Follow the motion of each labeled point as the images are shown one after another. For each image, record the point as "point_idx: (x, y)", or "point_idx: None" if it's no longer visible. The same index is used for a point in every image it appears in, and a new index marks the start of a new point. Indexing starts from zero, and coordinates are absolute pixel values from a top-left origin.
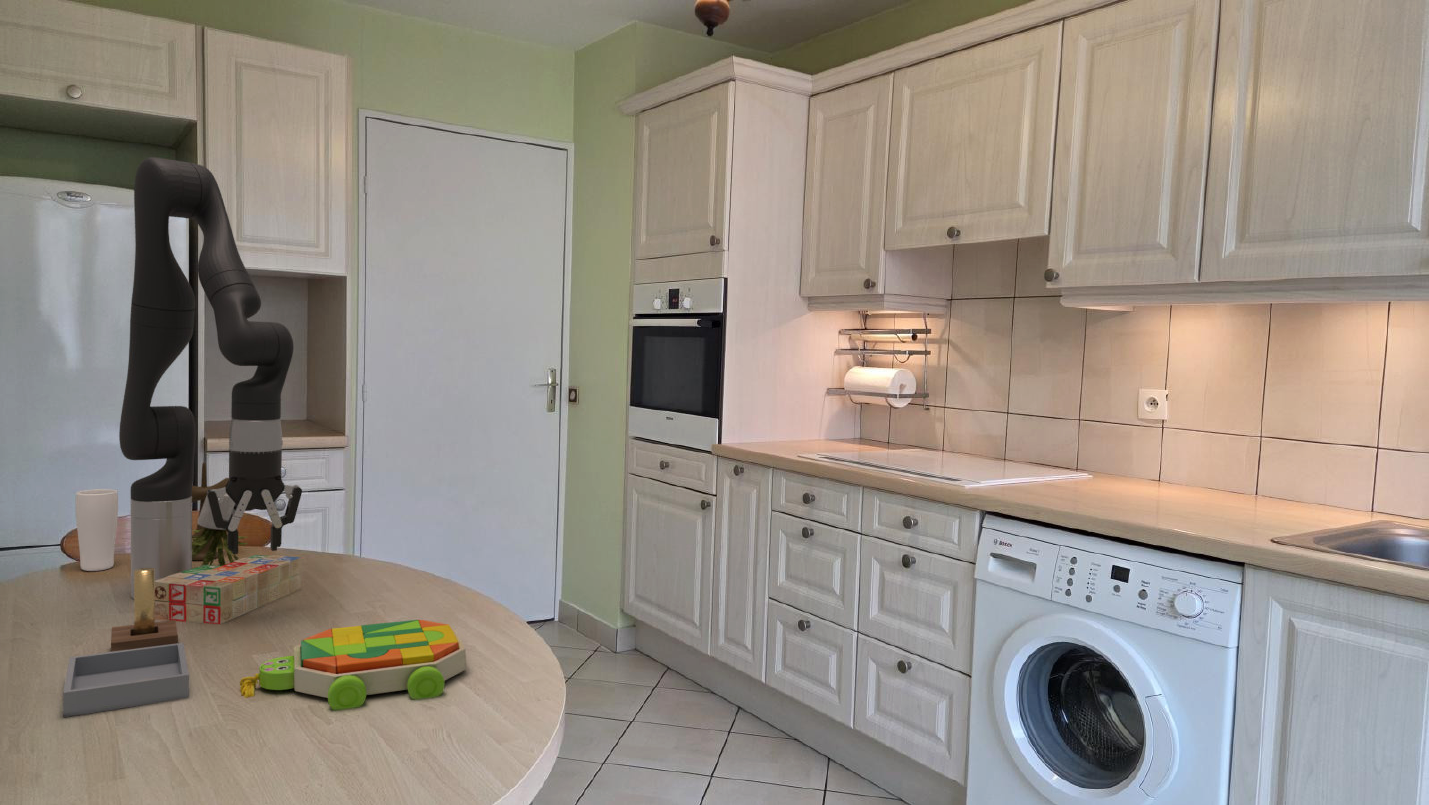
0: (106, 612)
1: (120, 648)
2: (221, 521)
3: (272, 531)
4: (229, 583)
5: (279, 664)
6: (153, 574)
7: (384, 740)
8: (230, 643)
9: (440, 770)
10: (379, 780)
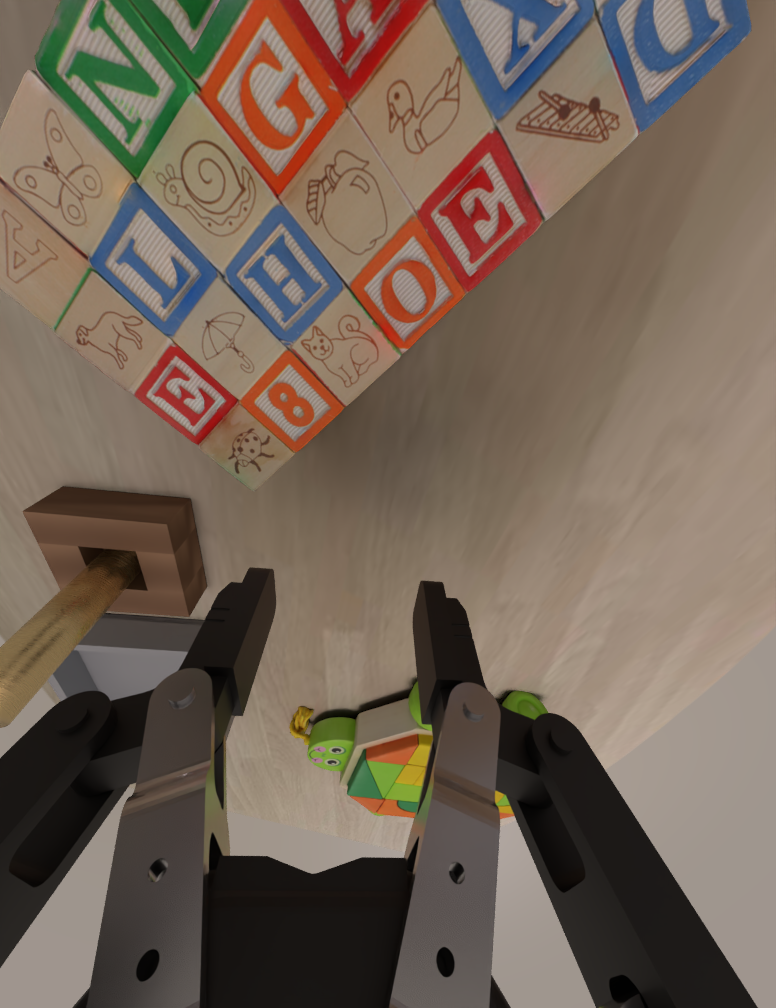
0: None
1: None
2: (107, 797)
3: (421, 706)
4: (284, 458)
5: (331, 754)
6: (23, 706)
7: None
8: (296, 567)
9: (398, 837)
10: (360, 834)
